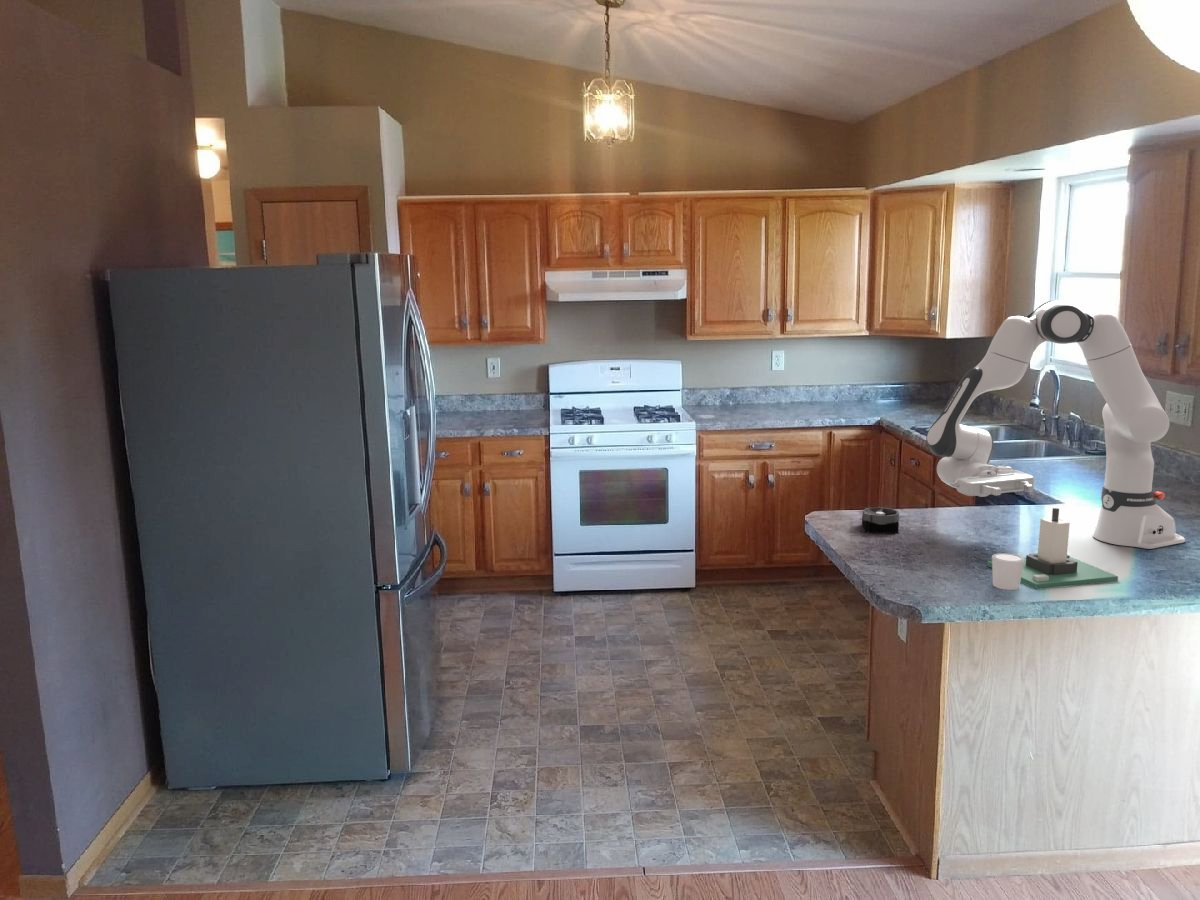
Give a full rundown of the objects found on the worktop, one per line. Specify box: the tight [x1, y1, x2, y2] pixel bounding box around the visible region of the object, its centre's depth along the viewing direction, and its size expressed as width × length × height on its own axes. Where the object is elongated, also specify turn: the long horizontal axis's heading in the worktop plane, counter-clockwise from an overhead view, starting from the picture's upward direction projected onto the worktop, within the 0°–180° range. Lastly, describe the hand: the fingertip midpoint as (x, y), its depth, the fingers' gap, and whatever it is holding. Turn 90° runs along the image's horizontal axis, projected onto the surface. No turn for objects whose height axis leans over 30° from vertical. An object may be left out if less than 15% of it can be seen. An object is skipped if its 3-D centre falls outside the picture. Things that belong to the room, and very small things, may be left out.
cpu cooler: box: [861, 506, 900, 535], centre depth 255 cm, size 10×6×10 cm
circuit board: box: [986, 552, 1119, 590], centre depth 214 cm, size 22×18×4 cm
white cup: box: [991, 552, 1025, 591], centre depth 206 cm, size 7×7×7 cm
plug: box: [1037, 507, 1070, 564], centre depth 213 cm, size 4×5×15 cm
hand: (1014, 490), depth 228 cm, fingers open, 8 cm apart
